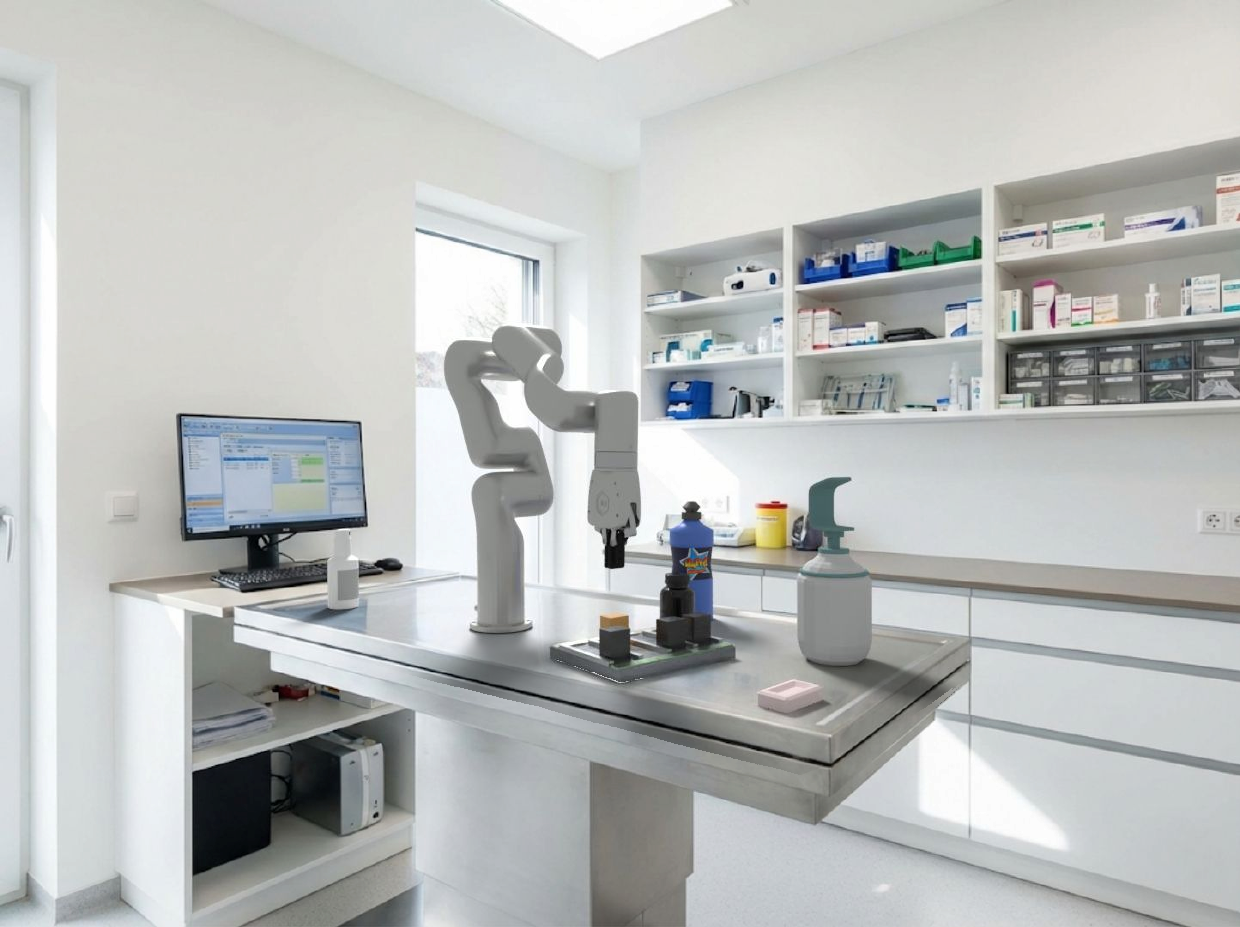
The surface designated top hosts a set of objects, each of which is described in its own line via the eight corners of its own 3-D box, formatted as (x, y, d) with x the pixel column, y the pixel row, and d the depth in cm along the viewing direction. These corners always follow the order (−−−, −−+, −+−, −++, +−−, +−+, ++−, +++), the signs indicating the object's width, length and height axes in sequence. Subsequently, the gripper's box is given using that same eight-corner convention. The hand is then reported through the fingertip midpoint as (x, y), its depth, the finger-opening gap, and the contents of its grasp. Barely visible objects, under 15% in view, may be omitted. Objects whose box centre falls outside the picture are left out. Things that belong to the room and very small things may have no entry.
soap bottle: (827, 672, 129) (827, 478, 129) (782, 655, 141) (781, 476, 140) (887, 664, 134) (887, 477, 134) (839, 647, 146) (839, 475, 145)
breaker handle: (600, 644, 140) (600, 615, 140) (618, 640, 143) (618, 612, 143) (610, 647, 138) (610, 618, 138) (628, 644, 140) (628, 615, 140)
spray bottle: (352, 610, 183) (352, 530, 183) (323, 610, 183) (322, 531, 183) (362, 604, 190) (362, 528, 189) (334, 604, 190) (333, 528, 190)
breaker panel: (549, 657, 139) (549, 617, 139) (660, 637, 154) (660, 600, 154) (620, 683, 123) (620, 638, 123) (735, 658, 139) (735, 617, 138)
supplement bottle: (693, 640, 152) (692, 577, 152) (657, 639, 153) (656, 576, 153) (696, 632, 158) (696, 571, 158) (662, 631, 160) (662, 570, 160)
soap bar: (755, 707, 113) (755, 690, 113) (792, 694, 119) (792, 677, 119) (787, 716, 109) (787, 698, 109) (824, 701, 115) (824, 685, 115)
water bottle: (719, 622, 168) (718, 502, 167) (675, 624, 166) (675, 503, 166) (707, 613, 177) (706, 500, 177) (665, 615, 175) (665, 500, 175)
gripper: (573, 461, 143) (572, 564, 144) (625, 464, 131) (623, 576, 132) (607, 460, 148) (606, 560, 148) (660, 463, 136) (658, 572, 136)
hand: (614, 567), depth 140 cm, fingers closed
